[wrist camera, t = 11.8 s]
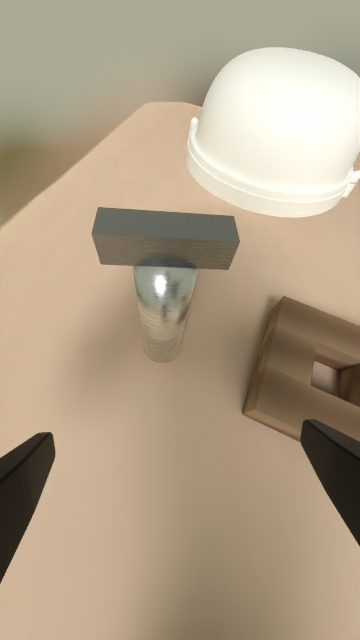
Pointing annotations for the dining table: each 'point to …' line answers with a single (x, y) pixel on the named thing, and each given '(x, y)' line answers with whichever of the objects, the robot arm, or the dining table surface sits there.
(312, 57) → the dome cover
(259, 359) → the socket block
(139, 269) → the t key
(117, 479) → the dining table surface
